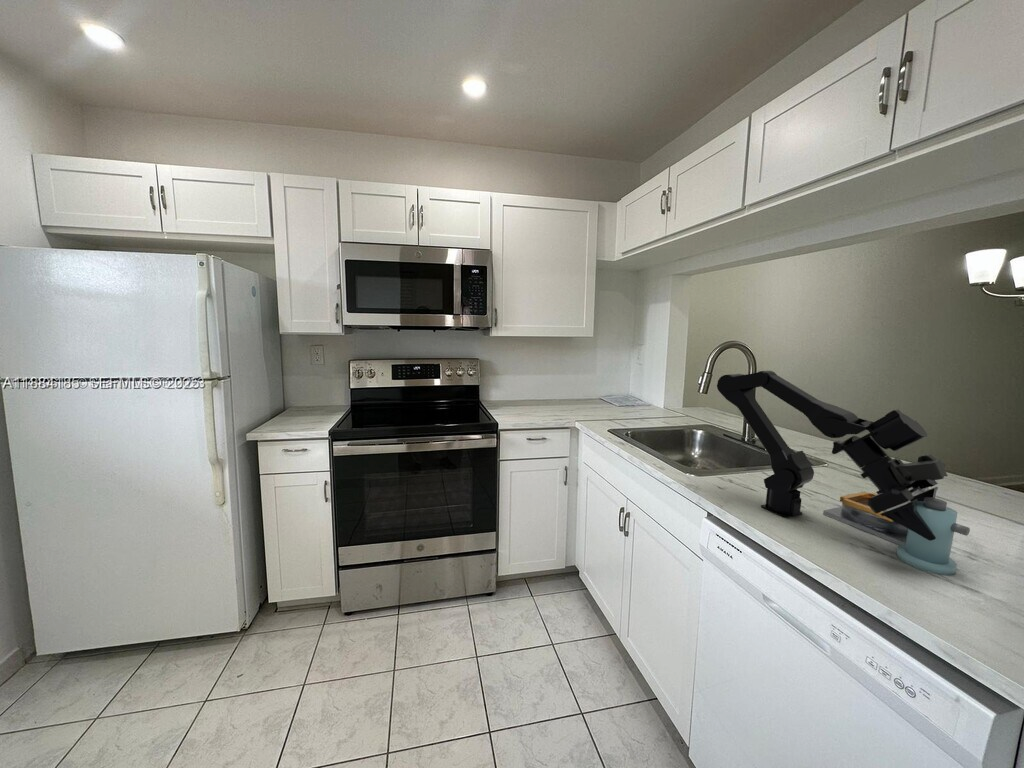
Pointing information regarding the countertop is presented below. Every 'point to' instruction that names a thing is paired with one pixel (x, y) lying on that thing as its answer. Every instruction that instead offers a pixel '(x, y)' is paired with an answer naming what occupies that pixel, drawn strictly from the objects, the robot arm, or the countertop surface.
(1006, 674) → the countertop surface
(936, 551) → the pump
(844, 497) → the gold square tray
